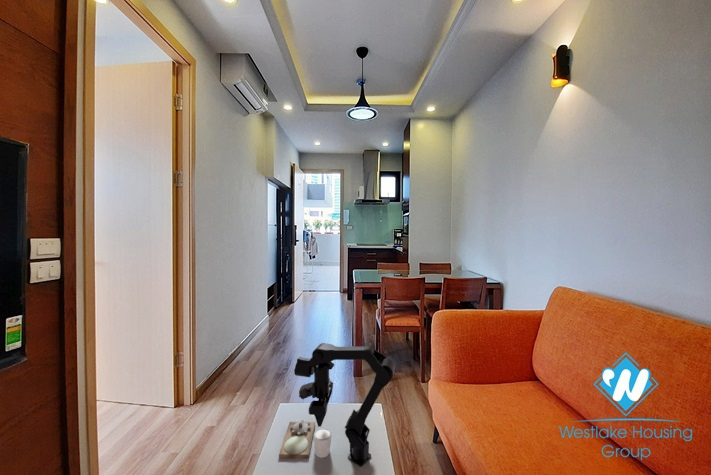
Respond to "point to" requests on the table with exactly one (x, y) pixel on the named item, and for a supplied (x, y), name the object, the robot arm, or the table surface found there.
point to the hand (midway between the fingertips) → (321, 418)
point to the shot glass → (322, 442)
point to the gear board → (298, 440)
